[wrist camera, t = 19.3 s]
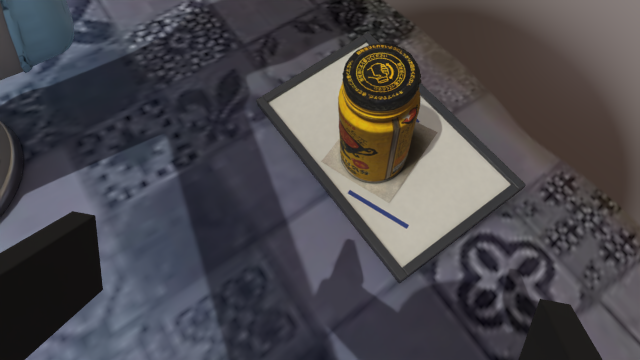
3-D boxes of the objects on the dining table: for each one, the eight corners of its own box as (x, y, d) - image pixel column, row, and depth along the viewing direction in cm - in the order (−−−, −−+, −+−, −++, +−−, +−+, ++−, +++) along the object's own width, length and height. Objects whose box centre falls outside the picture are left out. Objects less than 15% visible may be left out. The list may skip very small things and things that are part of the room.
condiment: (320, 162, 39) (310, 82, 28) (371, 98, 42) (379, 1, 31) (388, 204, 37) (405, 135, 26) (437, 134, 40) (471, 44, 29)
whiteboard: (257, 105, 43) (255, 99, 42) (367, 38, 46) (367, 31, 45) (399, 283, 35) (400, 281, 34) (522, 189, 38) (526, 184, 37)
